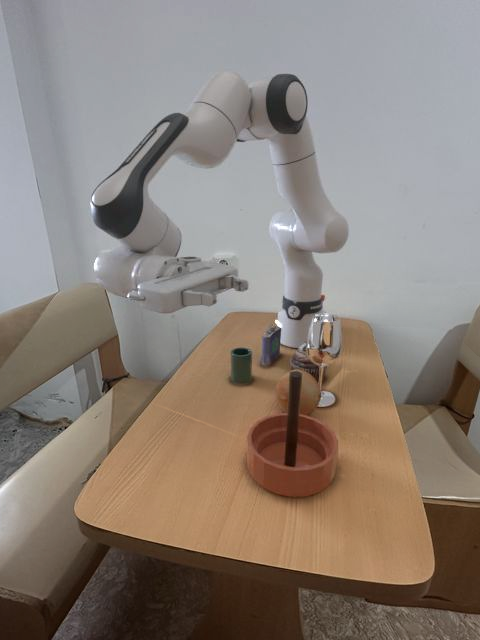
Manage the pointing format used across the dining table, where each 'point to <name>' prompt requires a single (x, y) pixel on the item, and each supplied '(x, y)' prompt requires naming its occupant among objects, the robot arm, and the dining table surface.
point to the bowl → (311, 457)
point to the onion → (308, 392)
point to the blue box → (271, 344)
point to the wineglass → (324, 347)
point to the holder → (241, 365)
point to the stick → (292, 417)
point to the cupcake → (305, 363)
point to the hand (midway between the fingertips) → (231, 292)
